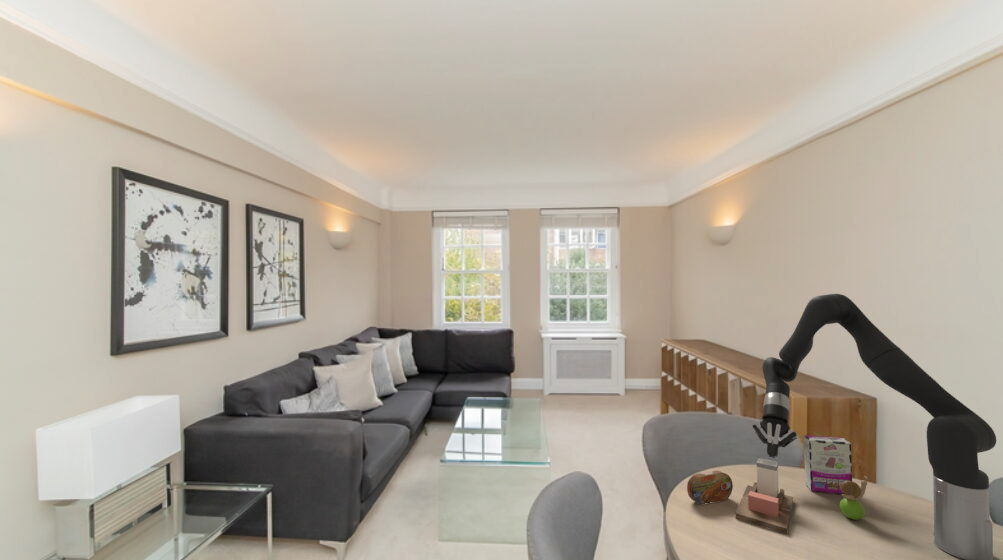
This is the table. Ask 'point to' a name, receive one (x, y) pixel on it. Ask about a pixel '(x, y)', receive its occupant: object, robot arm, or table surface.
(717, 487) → the tin
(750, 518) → the wooden holder base
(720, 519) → the table surface
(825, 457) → the candy bar box
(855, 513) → the snail figurine
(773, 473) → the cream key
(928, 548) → the table surface
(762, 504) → the pad
